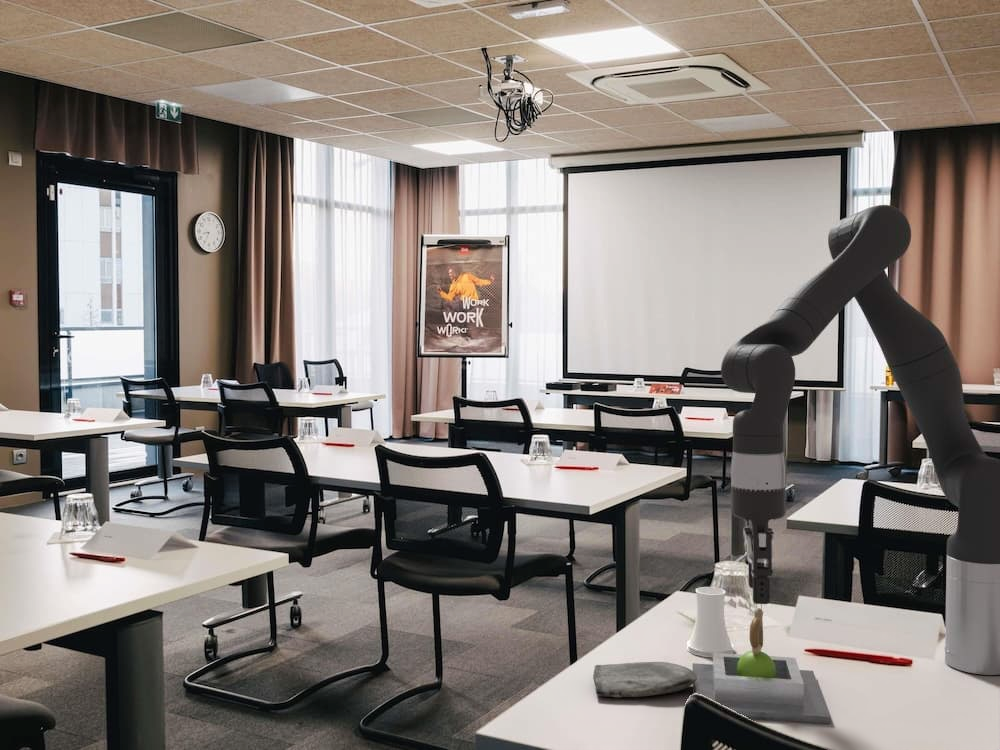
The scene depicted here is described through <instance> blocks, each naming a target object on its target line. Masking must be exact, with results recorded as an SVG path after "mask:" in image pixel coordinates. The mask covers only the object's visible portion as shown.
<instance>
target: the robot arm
mask: <svg viewBox="0 0 1000 750" xmlns="http://www.w3.org/2000/svg"><path fill="white" fill-rule="evenodd" d="M911 240H912V230H911V225H910V222H909V220H908V218H907V216H906V215H905V214H904V213H903V212H902V211H901V210H900V209H898V207H895V206H893V205H890V204H880V205H873V206H871V207H868V208H865V209H863V210H861V211H858V212H855V213H853V214H851V215H849V216H847V217H845V218H842V219H840V220H838V221H837V222H835V223H833V225H832V226H831V228H830V230H829V233H828V236H827V244H828V248H829V249H828V250H829V253H830V257H831V259H832V261H831V262H830V263H828V264H827V265H826V266H825V267H824V268H822V269H820V271H818V272H817V273H816V274H814V275H813V276H812V277H810V278H809V279H808V280H806V281H805V282H804V283H802V284H801V285H799V287H797V288H796V290H794V291H793V292H792V293H791V294H790V295H789V296H788V297H787V298H786V299H785V300H784V301H783V302H782V303H781V305H780V306H779V307H778V308H777V309H776V311H774V312H773V314H772V315H771V316H770V317H769V319H767V320H766V321H764V322H763V323H761V324H759V325H758V326H756V327H754V328H753V329H752V330H751V331H749V332H748V333H747V334H745V335H743V336H742V337H741V338H740V339H738V340H737V341H736V342H735V343H733V344H732V345H731V346H730V347H729V348H728V350H727V351H726V353H725V355H724V356H723V359H722V361H721V365H720V367H721V369H720V375H721V378H722V381H723V382H724V385H725V386H727V387H728V389H730V390H732V391H734V392H738V393H745V394H755V395H754V398H753V401H752V404H751V407H750V408H749V409H744V410H741V411H739V412H738V413H736V414H735V415H734V417H733V420H732V458H731V465H730V466H731V467H730V468H731V469H730V474H731V475H730V476H731V477H730V483H731V490H730V491H731V493H730V495H731V500H730V501H731V508H730V509H731V514H732V515H733V516H734V517H735V518H738V519H742V520H745V522H746V527H745V526H744V527H743V539H744V551H745V553H746V559H747V562H748V586H749V588H750V589H752V601H753V603H754V604H755V605H756V604H757V605H761V604H762V605H768V604H769V603H770V601H771V599H770V595H771V594H770V593H771V592H770V585H771V584H770V583H771V582H770V579H771V577H772V575H773V574H774V572H773V566H772V565H773V564H772V563H773V562H774V540H775V534H774V533H775V532H774V531H773V527H769V522H770V521H771V520H780V519H783V518H784V517H785V516H786V506H787V505H786V462H785V457H784V423H785V419H786V415H787V412H788V409H789V405H790V404H789V403H790V401H791V397H792V394H793V390H794V385H795V381H796V365H795V362H794V358H793V357H796V356H799V355H801V354H803V353H804V352H805V351H807V350H808V349H809V348H810V346H811V345H812V344H813V343H814V342H815V340H817V338H818V337H819V336H820V335H821V334H822V332H823V331H824V330H825V329H827V327H828V325H830V323H831V322H832V321H833V320H834V319H835V317H836V316H837V315H838V314H839V313H840V312H841V311H842V310H843V309H844V308H845V307H846V306H847V305H848V304H849V302H851V301H852V299H853V298H854V300H855V301H856V303H857V304H858V305H859V307H860V309H861V312H862V313H863V315H864V317H865V319H866V321H867V323H868V325H869V327H870V330H871V331H872V332H873V335H874V336H875V339H876V341H877V343H878V345H879V347H880V350H881V352H882V355H883V357H884V359H885V363H886V364H887V366H888V368H889V371H890V374H891V375H892V377H893V380H894V381H895V383H896V385H897V387H898V389H899V392H900V394H901V395H902V397H903V399H904V401H905V403H906V406H907V408H908V410H909V411H910V414H911V415H912V417H913V420H914V422H915V424H916V426H917V427H918V430H919V432H920V433H921V435H922V437H923V441H924V443H925V445H926V447H927V450H928V453H929V456H930V459H931V463H932V465H933V469H934V472H935V474H936V478H937V480H938V483H939V487H940V489H941V491H942V493H943V495H944V496H945V497H946V499H947V500H948V501H949V502H950V503H951V504H952V505H954V506H955V507H956V508H958V509H957V511H958V516H957V526H956V530H955V532H954V533H952V535H950V536H949V537H948V538H947V541H946V576H945V577H946V578H945V579H946V580H945V581H946V582H945V584H946V586H945V588H946V589H945V637H944V638H945V643H944V644H945V645H944V661H945V663H946V665H948V666H949V667H951V668H953V669H956V670H958V671H962V672H966V673H970V674H975V675H976V674H977V675H985V676H986V675H987V676H998V675H1000V459H999V458H997V457H996V458H995V457H991V456H988V455H987V454H986V453H985V451H984V450H983V449H982V447H981V445H980V443H979V442H978V440H977V438H976V435H975V433H974V432H973V430H972V429H971V428H972V427H971V425H970V424H969V421H968V418H967V415H966V411H965V402H964V387H963V381H962V380H963V379H962V376H961V371H960V369H959V367H958V363H957V361H956V359H955V357H954V355H953V352H952V350H951V348H950V346H949V343H948V341H947V339H946V338H945V336H944V334H943V333H942V331H941V330H940V328H938V326H936V325H935V324H934V323H933V321H931V320H930V319H929V318H927V316H925V315H924V314H923V313H922V312H920V311H919V310H918V309H917V308H915V307H914V306H912V305H911V304H910V303H909V302H908V301H906V299H905V298H903V297H902V296H901V294H899V293H898V291H897V290H896V289H895V287H894V285H893V284H892V282H891V280H890V278H889V276H888V274H887V273H886V272H887V271H885V270H886V269H888V268H889V267H891V265H892V264H894V263H895V262H897V261H898V260H900V258H901V257H902V256H904V255H905V254H906V252H907V251H908V249H909V247H910V244H911Z"/></svg>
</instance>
